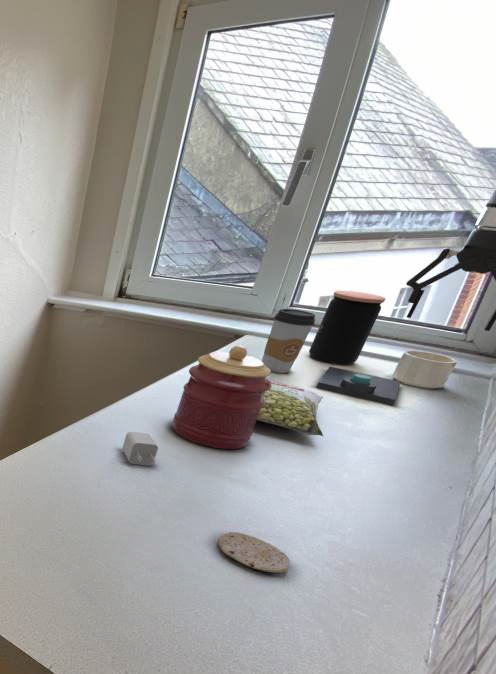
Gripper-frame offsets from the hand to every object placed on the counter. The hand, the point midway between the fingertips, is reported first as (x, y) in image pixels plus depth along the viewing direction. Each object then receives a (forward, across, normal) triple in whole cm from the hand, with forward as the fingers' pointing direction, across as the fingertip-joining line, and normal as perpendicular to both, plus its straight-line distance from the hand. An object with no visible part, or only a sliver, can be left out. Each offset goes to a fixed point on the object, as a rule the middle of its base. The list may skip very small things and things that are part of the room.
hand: (446, 323), depth 131 cm
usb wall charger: (+16, -32, -99) cm, 105 cm away
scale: (+15, -10, -17) cm, 25 cm away
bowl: (+15, 0, 0) cm, 15 cm away
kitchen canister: (+16, -27, -77) cm, 83 cm away
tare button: (+13, -10, -23) cm, 28 cm away
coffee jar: (+16, -18, +6) cm, 24 cm away
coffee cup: (+16, -27, -18) cm, 36 cm away
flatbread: (+16, -12, -114) cm, 116 cm away
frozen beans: (+16, -23, -56) cm, 62 cm away
